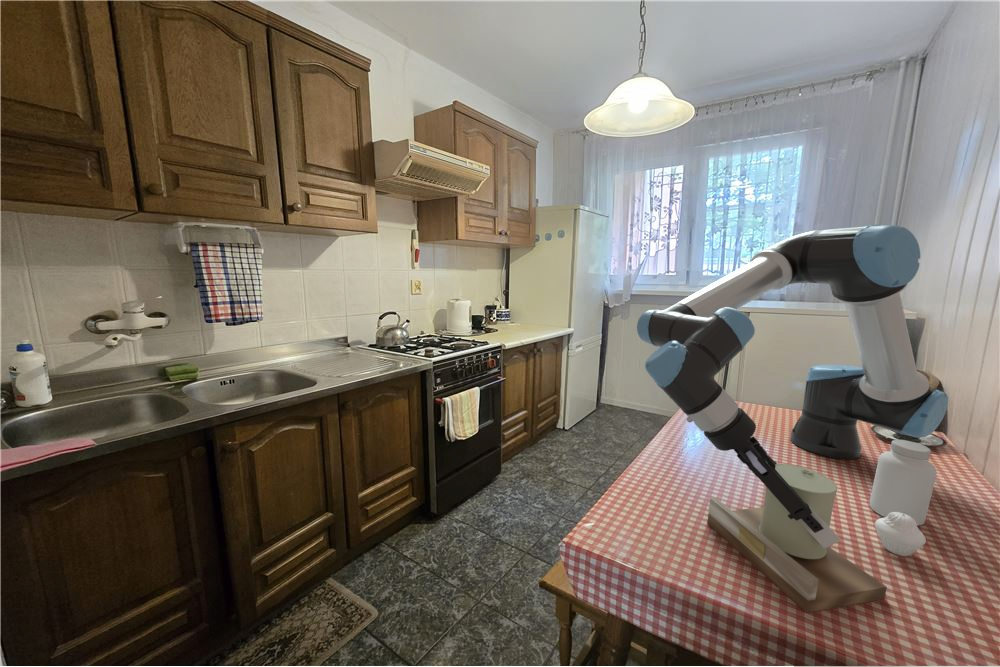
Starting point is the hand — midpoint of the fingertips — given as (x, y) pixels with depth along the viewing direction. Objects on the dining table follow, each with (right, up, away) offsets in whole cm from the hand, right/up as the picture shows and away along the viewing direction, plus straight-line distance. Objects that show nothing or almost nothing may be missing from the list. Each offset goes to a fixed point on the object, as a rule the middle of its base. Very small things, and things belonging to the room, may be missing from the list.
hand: (818, 524), depth 64 cm
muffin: (+17, -7, +4) cm, 19 cm away
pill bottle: (+27, -5, +14) cm, 31 cm away
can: (-3, -4, +2) cm, 5 cm away
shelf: (-4, -6, +2) cm, 8 cm away
